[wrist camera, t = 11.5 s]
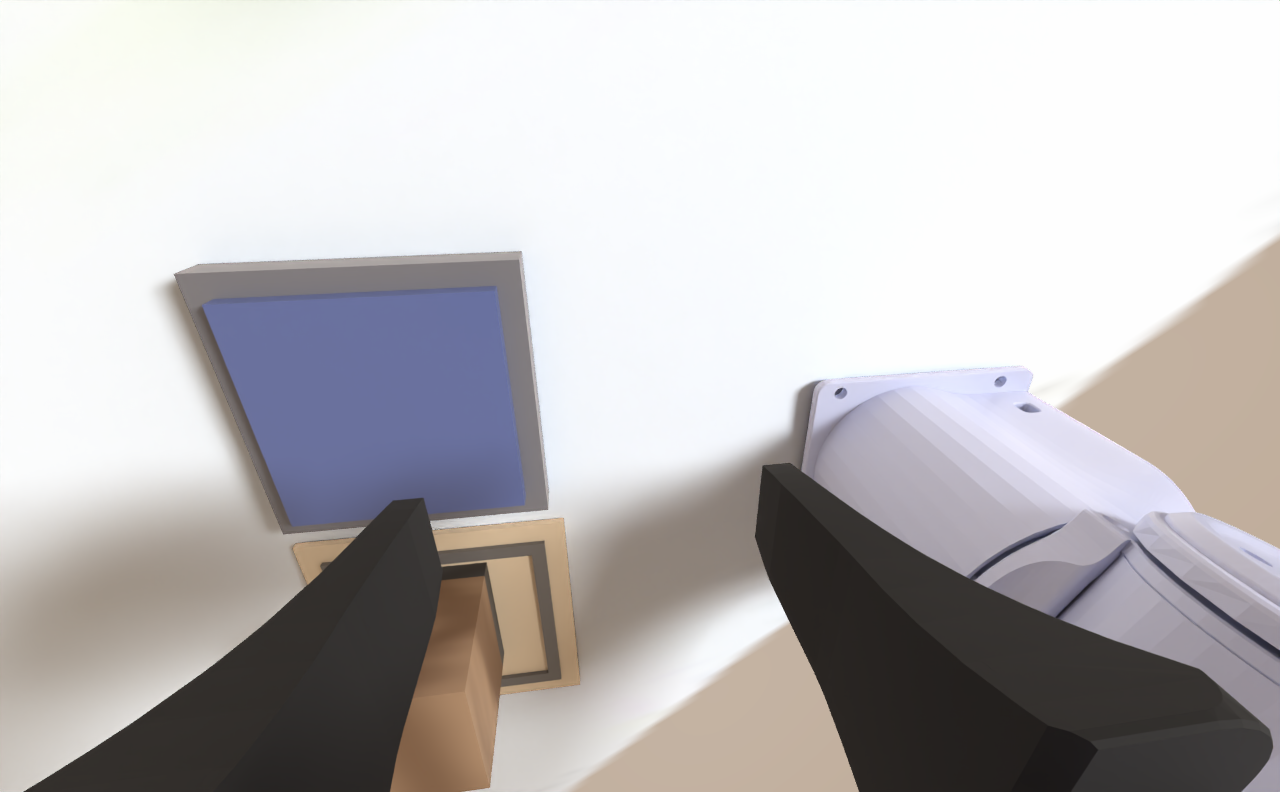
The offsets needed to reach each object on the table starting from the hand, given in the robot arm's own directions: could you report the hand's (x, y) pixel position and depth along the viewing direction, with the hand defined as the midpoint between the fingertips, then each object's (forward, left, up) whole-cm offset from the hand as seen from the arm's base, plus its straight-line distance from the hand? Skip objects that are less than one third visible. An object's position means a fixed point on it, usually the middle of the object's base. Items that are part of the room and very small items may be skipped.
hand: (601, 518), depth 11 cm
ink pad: (+7, +1, -9) cm, 12 cm away
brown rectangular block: (+7, +13, -9) cm, 17 cm away
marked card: (+7, +13, -9) cm, 18 cm away
